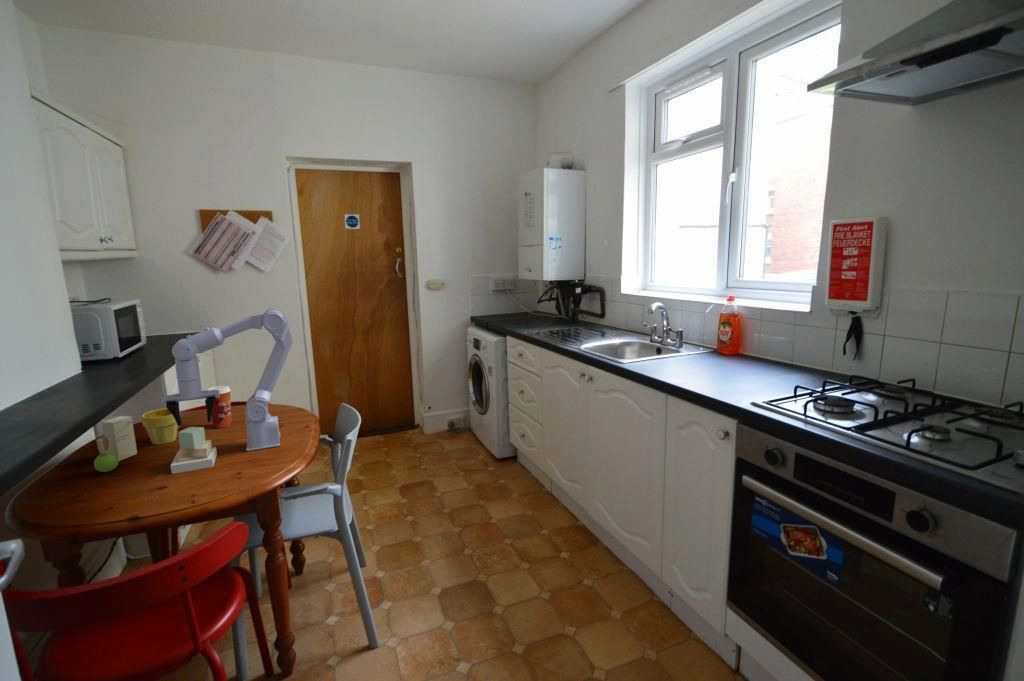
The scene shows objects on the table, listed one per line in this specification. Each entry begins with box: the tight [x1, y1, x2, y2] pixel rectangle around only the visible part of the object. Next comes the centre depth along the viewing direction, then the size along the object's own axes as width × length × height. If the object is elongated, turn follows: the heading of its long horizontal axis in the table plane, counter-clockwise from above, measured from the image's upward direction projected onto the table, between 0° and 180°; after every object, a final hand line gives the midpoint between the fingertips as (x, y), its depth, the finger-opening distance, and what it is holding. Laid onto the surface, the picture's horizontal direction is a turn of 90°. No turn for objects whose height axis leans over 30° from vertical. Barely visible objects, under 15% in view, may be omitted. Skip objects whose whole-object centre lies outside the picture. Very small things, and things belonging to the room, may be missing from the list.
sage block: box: [177, 426, 206, 449], centre depth 142 cm, size 4×4×5 cm
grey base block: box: [170, 446, 218, 475], centre depth 143 cm, size 10×10×3 cm
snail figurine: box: [93, 434, 120, 473], centre depth 138 cm, size 5×6×12 cm
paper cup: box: [206, 385, 233, 429], centre depth 174 cm, size 8×8×14 cm
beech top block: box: [177, 439, 213, 462], centre depth 143 cm, size 7×7×3 cm
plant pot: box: [141, 407, 182, 445], centre depth 161 cm, size 10×10×10 cm
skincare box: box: [100, 415, 138, 462], centre depth 148 cm, size 6×4×12 cm
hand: (194, 422), depth 148 cm, fingers open, 7 cm apart
